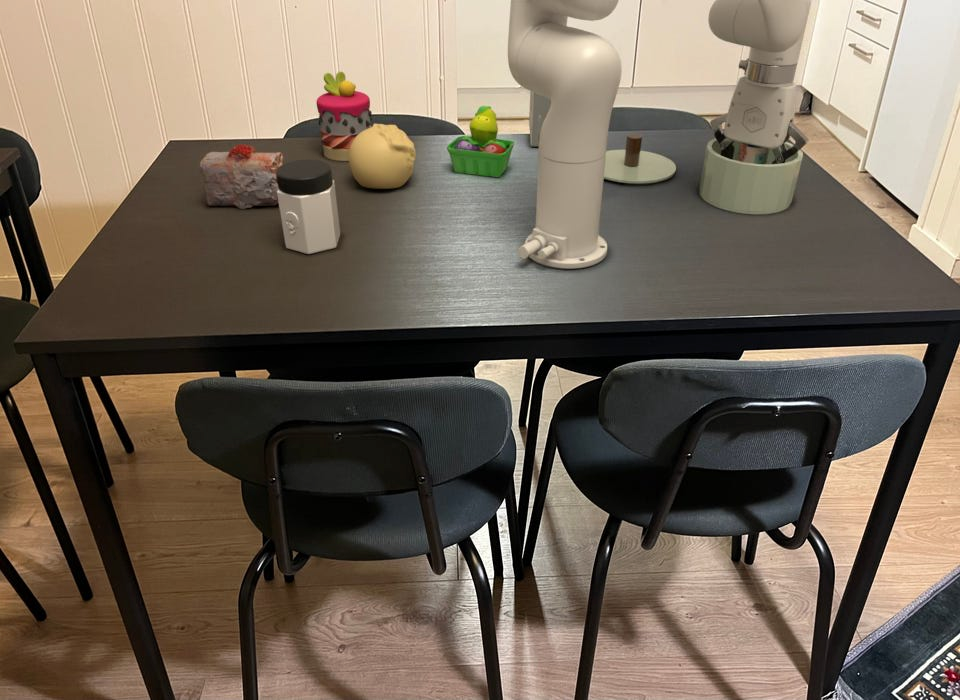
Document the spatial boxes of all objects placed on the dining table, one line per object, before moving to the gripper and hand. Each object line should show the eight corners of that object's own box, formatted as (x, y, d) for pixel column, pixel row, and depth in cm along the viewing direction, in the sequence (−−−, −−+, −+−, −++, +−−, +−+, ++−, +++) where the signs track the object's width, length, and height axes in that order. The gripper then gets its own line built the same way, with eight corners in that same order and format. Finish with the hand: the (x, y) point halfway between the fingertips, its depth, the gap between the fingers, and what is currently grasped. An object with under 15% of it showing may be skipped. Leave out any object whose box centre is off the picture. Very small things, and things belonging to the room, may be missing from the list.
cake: (385, 149, 154) (379, 73, 145) (351, 165, 146) (343, 86, 138) (345, 140, 158) (338, 66, 150) (311, 155, 151) (300, 78, 143)
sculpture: (425, 190, 136) (422, 131, 130) (360, 200, 132) (354, 139, 126) (406, 168, 145) (403, 112, 139) (345, 177, 141) (339, 119, 135)
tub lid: (647, 194, 134) (651, 158, 131) (569, 172, 143) (571, 137, 140) (691, 168, 145) (696, 134, 141) (616, 149, 154) (619, 116, 150)
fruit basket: (445, 173, 143) (444, 113, 136) (461, 158, 149) (460, 100, 143) (503, 181, 139) (504, 120, 133) (516, 165, 146) (518, 106, 140)
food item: (293, 192, 135) (284, 138, 130) (284, 210, 129) (275, 154, 123) (216, 193, 135) (205, 139, 129) (203, 211, 128) (191, 155, 123)
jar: (274, 246, 117) (261, 172, 111) (308, 226, 123) (298, 155, 117) (319, 259, 114) (308, 183, 107) (352, 238, 120) (344, 165, 113)
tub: (769, 222, 124) (781, 173, 120) (683, 198, 133) (691, 151, 128) (804, 194, 134) (816, 147, 130) (722, 173, 143) (731, 128, 138)
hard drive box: (568, 148, 154) (574, 45, 143) (530, 148, 154) (534, 45, 143) (562, 124, 167) (568, 28, 156) (528, 124, 167) (531, 28, 156)
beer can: (737, 186, 136) (751, 119, 129) (763, 192, 134) (778, 125, 127) (726, 194, 133) (739, 126, 126) (752, 201, 130) (767, 132, 124)
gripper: (709, 68, 124) (692, 170, 134) (815, 86, 115) (789, 195, 124) (729, 59, 129) (711, 159, 138) (833, 77, 119) (806, 182, 129)
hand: (748, 175), depth 131 cm, fingers open, 8 cm apart
